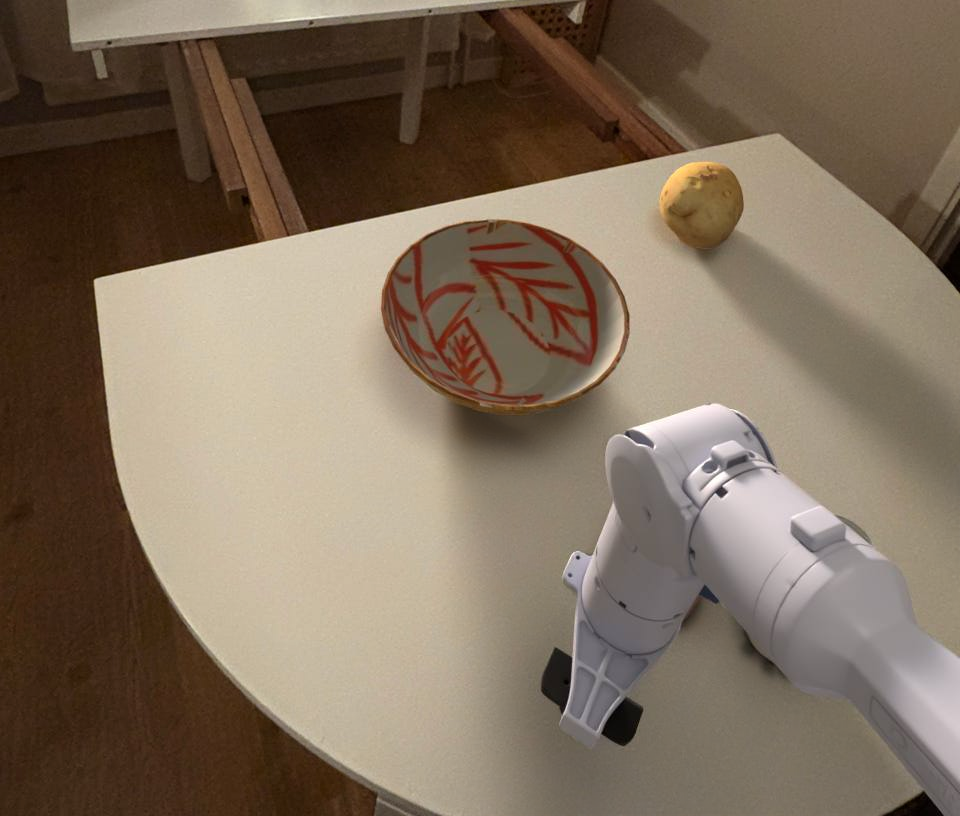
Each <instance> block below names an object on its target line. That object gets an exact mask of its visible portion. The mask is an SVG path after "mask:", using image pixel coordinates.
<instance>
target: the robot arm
mask: <svg viewBox="0 0 960 816" xmlns="http://www.w3.org/2000/svg"><path fill="white" fill-rule="evenodd" d="M604 464H605V473H606V474H605V475H606V480H607V485H608V489H609V493H610V496H611V499H612V505H611V506H610V509H609V512H608V515H607V517H606V520H605V522H604V525H603V527H602V530H601V532H600V535H599V537H598V540H597V543H596V545H595V548H594V550H593V553H592V555H588V554H585V553H584V552H582V551H578V550H577V551H574V552H573V553H572V554H571V555H570V557H569V560H568V562H567V564H566V566H565V568H564V570H563V573H562V577H561V581H562V585H564V586H565V587H566V588H567V589H569V590H571V592H573V593H574V596H575V609H574V627H573V644H572V656H571V655H569V654H568V653H566V652H565V651H563V650H562V649H560V648H559V647H557V646H554V647H553V650H552V652H551V654H550V656H549V658H548V661H547V663H546V665H545V667H544V670H543V672H542V675H541V679H540V692H541V694H542V695H543V696H544V697H545V698H547V699H548V700H549V701H551V702H552V703H553V704H555V705H556V706H558V708H559V712H560V715H561V718H560V721H559V724H558V728H559V729H561V730H562V731H563V732H565V733H566V734H568V735H569V736H570V737H572V738H573V739H575V740H577V741H578V742H580V743H581V744H583V745H584V746H586V747H587V748H589V750H593V749H594V748H595V745H596V744H597V742H598V740H599V739H600V737H601V735H602V736H603V737H605V738H606V739H608V740H609V741H611V742H612V743H614V744H615V745H617V746H619V747H626V746H627V745H629V744H630V743H631V742H632V740H633V739H634V737H635V736H636V733H637V731H638V728H639V725H640V723H641V719H642V716H643V713H644V709H645V708H644V706H643V705H641V704H640V703H638V702H637V701H635V700H633V699H632V698H630V697H628V695H630V693H631V692H632V691H633V690H634V689H635V687H637V686H638V685H639V683H640V682H641V681H642V680H643V678H644V677H645V676H647V674H648V673H649V672H650V671H651V669H652V668H653V667H654V666H655V665H656V664H657V663H658V662H659V661H660V659H661V658H663V657H664V655H665V654H666V653H667V652H668V651H669V649H670V648H671V647H672V645H673V644H674V643H675V641H676V639H677V637H678V635H679V633H680V630H681V626H682V622H683V620H685V618H684V617H685V615H686V614H687V612H688V611H689V609H690V608H691V606H692V604H693V603H694V601H695V599H696V597H697V596H698V594H699V593H700V591H701V589H702V588H703V586H704V585H706V586H707V587H708V588H709V590H710V591H711V592H712V593H713V594H714V595H715V596H716V598H717V599H718V600H719V603H720V604H722V606H723V607H724V608H725V609H726V610H727V612H728V613H729V614H730V615H731V616H732V617H733V618H734V619H735V620H736V622H737V623H738V624H739V625H740V626H741V627H742V629H743V630H744V631H745V632H746V634H747V633H748V634H749V635H750V636H751V637H752V639H753V640H754V641H755V642H756V643H757V644H758V645H759V647H760V648H761V649H762V650H763V651H764V652H765V653H766V655H767V656H768V657H769V658H770V659H771V660H772V661H771V660H770V661H771V662H772V663H773V664H774V665H775V666H776V667H777V668H778V669H779V670H780V672H781V673H782V674H783V675H784V676H785V677H786V679H787V680H788V681H789V682H790V683H791V684H792V685H793V686H794V687H795V688H796V689H797V690H798V691H800V692H801V693H803V694H806V695H807V696H811V697H815V698H819V699H820V698H821V699H828V700H829V699H830V700H839V701H840V700H841V701H849V702H851V703H852V705H853V706H854V707H855V709H856V710H857V711H858V712H859V713H860V714H861V716H862V717H863V719H864V720H865V721H866V722H867V724H869V725H870V727H871V728H872V729H873V730H874V732H875V733H876V734H877V735H878V737H879V738H880V739H881V740H882V741H883V743H884V744H885V745H886V746H887V747H888V748H889V750H890V752H891V753H893V755H894V756H895V757H896V758H897V760H898V761H899V762H900V763H901V765H902V766H903V767H904V768H905V770H906V771H907V772H908V773H909V775H910V776H911V777H912V778H913V779H914V781H915V782H916V783H917V784H918V786H920V788H921V789H922V790H923V792H924V793H925V794H926V795H927V797H928V798H929V799H930V800H931V801H932V803H933V804H934V805H935V806H936V807H937V809H938V810H939V811H940V812H941V814H942V815H943V816H960V656H958V655H957V654H956V653H954V652H953V651H952V650H951V649H949V648H948V647H947V646H945V645H944V644H943V643H941V642H940V641H939V640H937V639H936V638H935V637H934V636H933V635H931V634H930V633H929V632H927V630H924V629H923V628H922V627H920V625H919V624H918V622H917V620H916V616H915V611H914V607H913V606H914V605H913V602H912V598H911V597H912V596H911V594H910V589H909V586H908V582H907V580H906V578H905V576H904V574H903V573H902V571H901V569H900V568H899V567H898V566H897V565H896V564H895V563H894V562H892V561H891V560H890V559H889V558H888V557H887V556H886V555H884V554H883V553H882V552H880V551H879V550H878V549H877V550H876V549H875V548H874V547H873V546H871V545H870V544H869V543H868V542H866V541H865V540H864V539H863V538H861V537H860V536H859V535H858V534H857V533H856V532H854V531H853V530H852V529H851V528H849V527H848V526H847V525H846V524H845V523H843V522H842V521H841V520H840V519H838V518H837V517H836V516H835V515H833V514H834V513H833V512H831V511H830V510H829V509H827V508H826V507H825V506H824V505H822V504H821V503H820V502H819V501H818V500H817V499H815V498H814V497H812V496H811V494H809V493H808V492H806V490H804V489H803V488H801V487H800V486H799V485H798V484H797V483H795V482H794V481H793V480H792V479H791V478H789V477H788V476H787V475H786V474H784V473H783V472H782V471H781V470H779V469H778V465H777V461H776V458H775V456H774V453H773V450H772V449H771V446H770V444H769V442H768V441H767V439H766V437H765V436H764V434H763V432H761V431H760V429H759V427H758V426H757V425H756V424H755V422H754V421H753V420H752V419H751V418H749V417H748V416H747V415H745V414H744V413H743V412H741V411H739V410H736V409H731V408H728V407H727V406H725V405H723V404H721V403H717V402H715V403H711V402H710V403H706V404H703V405H700V406H697V407H694V408H690V409H688V410H684V411H681V412H678V413H675V414H672V415H667V416H666V417H662V418H659V419H656V420H653V421H649V422H646V423H643V424H640V425H636V426H634V427H631V428H628V429H626V430H624V431H623V432H622V434H614V435H613V436H612V437H611V438H609V441H608V442H607V444H606V447H605V457H604Z"/></svg>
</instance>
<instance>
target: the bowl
mask: <svg viewBox="0 0 960 816" xmlns="http://www.w3.org/2000/svg"><path fill="white" fill-rule="evenodd" d="M380 301H381V303H380V312H381V317H382V323H383V327H384V330H385V333H386V334H387V337H388V339H389V342H390V343H391V345H392V347H393V349H394V351H395V352H396V353H397V354H398V355H399V357H400V358H401V359H402V361H403V362H404V363H405V364H406V366H407V367H408V368H409V369H410V371H412V373H413V374H415V375H416V376H417V377H418V378H419V379H420V380H421V381H423V382H424V383H425V384H426V385H427V386H428V387H429V388H431V389H432V390H433V391H434V392H436V393H438V394H440V395H442V396H443V397H445V398H446V399H448V400H450V401H451V402H453V403H456V404H458V405H461V406H463V407H466V408H470V409H473V410H475V411H480V412H484V413H490V414H496V415H500V416H502V415H503V416H505V415H506V416H507V415H508V416H510V415H511V416H513V415H514V416H517V415H518V416H525V415H530V414H531V415H532V414H537V413H542V412H543V413H544V412H548V411H551V410H553V409H556V408H558V407H561V406H563V405H566V404H569V403H572V402H574V401H576V400H578V399H579V398H581V397H583V396H584V395H586V394H588V393H589V392H591V391H592V390H594V389H595V388H597V387H599V386H600V385H601V384H602V383H604V381H606V379H607V378H608V377H610V375H611V374H612V373H613V372H614V371H615V370H616V369H617V366H618V365H619V363H620V361H621V360H622V358H623V356H624V355H625V353H626V349H627V345H628V342H629V338H630V334H631V333H630V331H631V330H630V328H631V327H630V323H631V322H630V311H629V308H628V304H627V299H626V297H625V295H624V293H623V291H622V289H621V286H620V285H619V283H618V281H617V279H616V278H615V276H614V275H613V274H612V273H611V271H610V270H609V269H608V268H607V266H606V265H605V264H604V263H603V262H602V261H601V260H600V259H599V258H597V256H595V255H594V254H593V253H592V252H591V251H590V250H589V249H588V248H586V247H584V246H582V245H581V244H580V243H578V242H576V241H575V240H573V239H571V238H570V237H568V236H565V235H563V234H561V233H559V232H557V231H555V230H553V229H550V228H547V227H543V226H541V225H538V224H533V223H530V222H525V221H519V220H514V219H513V220H512V219H502V218H501V219H500V218H484V219H483V218H482V219H473V220H464V221H460V222H456V223H453V224H448V225H444V226H443V227H441V228H437V229H435V230H433V231H431V232H429V233H426V234H425V235H424V236H422V237H420V238H419V239H418V240H416V241H414V242H413V243H411V244H409V246H408V247H407V248H406V249H405V250H404V251H403V252H401V254H400V255H399V256H398V257H397V258H396V260H395V262H394V263H393V265H392V266H391V268H390V269H389V271H388V272H387V274H386V277H385V280H384V283H383V287H382V290H381V300H380Z"/></svg>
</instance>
